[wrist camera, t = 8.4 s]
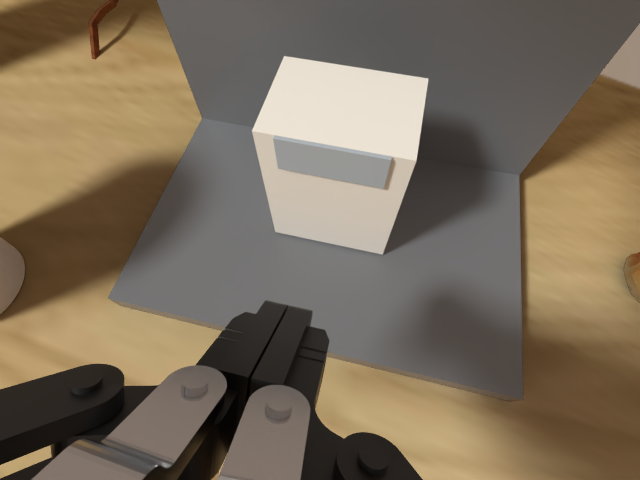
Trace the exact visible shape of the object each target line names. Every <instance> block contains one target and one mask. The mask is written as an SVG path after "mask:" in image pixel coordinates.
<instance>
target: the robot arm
mask: <svg viewBox="0 0 640 480" xmlns="http://www.w3.org/2000/svg"><path fill="white" fill-rule="evenodd" d="M312 313H313V311H312V310H309V309H304V308H300V307H295V306H291V305H290V306H289V305H286V304H281V303H277V302H272V301H268V300H265V301H264V303H263V304H262V306H261V307H260V309H259V310H258V312H257V313H256V314H253V313H249V312H244V313H242V314H240V315H238V316H236V317H234V318H233V319H232V320H231V321H230V322H229V324H228V325H227V326H226V327H225V330H223V331H222V332H221V334H220V335H219V337H218V338H217V339H216V340H215V341H214V343H213V344H212V345H211V346H210V348H209V349H208V350H207V351H206V353H205V354H204V355H203V356H202V358H201V359H200V360H199V361H198V363H197V364H196V365H195V366H188V367H184V368H181V369H179V370H177V371H175V372H173V373H172V374H170V375H169V376H168V377H167V378H166V379H165V380H164V381H163V382H162V383H161V384H160V385H157V386H124V375H123V373H122V372H121V370H119V369H118V368H116V367H114V366H111V365H107V364H90V365H84V366H80V367H77V368H73V369H70V370H66V371H63V372H59V373H56V374H53V375H49V376H46V377H42V378H39V379H35V380H32V381H28V382H25V383H21V384H18V385H15V386H11V387H8V388H4V389H1V390H0V465H1V464H4V463H6V462H9V461H11V460H14V459H16V458H19V457H21V456H24V455H26V454H29V453H31V452H34V451H37V450H39V449H42V448H44V447H47V446H49V445H51V454H52V457H51V458H49V459H47V460H44V461H42V462H39V463H37V464H35V465H32V466H30V467H27V468H25V469H22V470H20V471H18V472H15V473H13V474H10V475H8V476H6V477H3V478H1V479H0V480H422V478H421V477H420V476H419V475H418V473H417V472H416V471H415V470H414V468H413V467H412V466H411V465H410V463H409V462H408V461H407V460H406V458H405V457H404V456H403V454H402V453H401V452H400V451H399V450H398V449H397V447H396V446H395V445H393V444H392V443H391V442H390V441H388V440H387V439H385V438H383V437H381V436H379V435H376V434H372V433H365V432H361V433H355V434H352V435H349V436H347V437H346V438H345V439H343V438H342V437H340V436H338V435H336V434H335V433H333V432H332V431H330V430H329V429H328V428H326V427H325V426H324V425H323V424H322V422H321V421H320V420H319V418H318V416H317V414H316V411H315V408H316V404H317V399H318V395H319V391H320V387H321V383H322V378H323V372H324V367H325V362H326V357H327V352H328V346H329V338H328V336H327V333H326V331H325V330H324V329H319V328H315V327H311V320H312ZM227 453H228V454H227ZM226 455H227V456H226ZM225 457H226V459H225ZM224 459H225V462H224V464H223V467H222V469H221V472H220V475H219V477H218V474H219V469H220V468H221V465H222V463H223V461H224Z"/></svg>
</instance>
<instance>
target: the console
mask: <svg viewBox="0 0 640 480" xmlns="http://www.w3.org/2000/svg"><path fill="white" fill-rule="evenodd" d="M157 2H158V5H159V7H160V10H161V12H162V15H163V18H164V20H165V23H166V25H167V28H168V31H169V33H170V36H171V38H172V41H173V44H174V46H175V49H176V51H177V54H178V57H179V59H180V62H181V64H182V67H183V70H184V72H185V75H186V77H187V80H188V83H189V85H190V88H191V90H192V93H193V96H194V98H195V101H196V103H197V106H198V109H199V111H200V114H201V116H202V120H201V122H200V123H199V125H198V127H197V129H196V131H195V133H194V135H193V137H192V139H191V141H190V142H189V144H188V146H187V148H186V150H185V152H184V154H183V156H182V158H181V160H180V162H179V163H178V165H177V167H176V169H175V171H174V173H173V175H172V177H171V179H170V181H169V182H168V184H167V186H166V188H165V190H164V192H163V194H162V196H161V198H160V200H159V202H158V203H157V205H156V207H155V209H154V211H153V213H152V215H151V217H150V219H149V221H148V222H147V224H146V226H145V228H144V230H143V232H142V234H141V236H140V238H139V240H138V242H137V243H136V245H135V247H134V249H133V251H132V253H131V255H130V257H129V259H128V261H127V262H126V264H125V266H124V268H123V270H122V272H121V274H120V276H119V278H118V280H117V282H116V283H115V285H114V287H113V289H112V291H111V293H110V295H109V297H108V299H110V300H112V301H113V302H115V303H117V304H118V305H120V306H124V307H128V308H132V309H136V310H140V311H144V312H148V313H152V314H156V315H160V316H164V317H168V318H172V319H177V320H181V321H185V322H189V323H193V324H197V325H201V326H205V327H209V328H213V329H217V330H221V331H223V330H225V327H226V326H227V325H228V324H229V322H230V321H231V320H232V319H233V318H234V317H236V316H238V315H240V314H242V313H244V312H249V313H253V314H256V313H257V312H258V310H259V309H260V307H261V306H262V304H263V303H264V301H265V300H268V301H272V302H277V303H281V304H286V305H289V306H290V305H291V306H295V307H300V308H304V309H309V310H312V311H313V313H312V320H311V327H315V328H319V329H324V330H325V331H326V333H327V336H328V338H329V346H328V352H327V357H331V358H336V359H340V360H344V361H348V362H352V363H356V364H360V365H364V366H368V367H372V368H376V369H380V370H384V371H389V372H393V373H397V374H401V375H405V376H409V377H413V378H417V379H421V380H425V381H429V382H433V383H437V384H442V385H446V386H450V387H454V388H458V389H462V390H466V391H470V392H474V393H478V394H482V395H486V396H490V397H494V398H499V399H503V400H507V401H516V400H523V356H522V299H521V242H520V185H519V175H520V174H521V173H522V171H523V170H524V169H525V168H526V166H527V165H528V164H529V162H530V161H531V160H532V159H533V157H534V156H535V155H536V154H537V152H538V151H539V150H540V149H541V147H542V146H543V145H544V144H545V142H546V141H547V140H548V138H549V137H550V136H551V135H552V133H553V132H554V131H555V130H556V128H557V127H558V126H559V125H560V123H561V122H562V121H563V120H564V118H565V117H566V116H567V114H568V113H569V112H570V111H571V109H572V108H573V107H574V106H575V104H576V103H577V102H578V101H579V99H580V98H581V97H582V95H583V94H584V93H585V92H586V90H587V89H588V88H589V87H590V85H591V84H592V83H593V82H594V80H595V79H596V78H597V77H598V75H599V74H600V73H601V71H602V70H603V69H604V68H605V66H606V65H607V64H608V63H609V61H610V60H611V59H612V57H613V56H614V55H615V54H616V53H617V51H618V50H619V49H620V47H621V46H622V45H623V44H624V42H625V41H626V40H627V39H628V37H629V36H630V35H631V34H632V32H633V31H634V30H635V28H636V27H637V26H638V25H639V23H640V0H157ZM284 56H287V57H294V58H300V59H307V60H313V61H319V62H326V63H332V64H339V65H345V66H351V67H358V68H364V69H371V70H377V71H383V72H390V73H396V74H403V75H409V76H415V77H422V78H428V86H427V92H426V99H425V106H424V113H423V120H422V127H421V133H420V140H419V147H418V154H417V161H416V164H415V166H414V169H413V172H412V175H411V177H410V180H409V183H408V186H407V188H406V191H405V194H404V197H403V200H402V202H401V205H400V208H399V211H398V213H397V216H396V219H395V222H394V225H393V227H392V230H391V233H390V236H389V238H388V241H387V244H386V247H385V249H384V252H383V255H382V254H378V253H373V252H368V251H363V250H359V249H354V248H349V247H344V246H340V245H335V244H330V243H325V242H321V241H316V240H311V239H306V238H302V237H297V236H292V235H287V234H283V233H278V232H275V228H274V224H273V220H272V215H271V211H270V207H269V203H268V198H267V194H266V190H265V185H264V181H263V177H262V172H261V168H260V164H259V160H258V155H257V151H256V147H255V142H254V138H253V134H252V130H253V127H254V125H255V123H256V120H257V118H258V116H259V113H260V111H261V109H262V106H263V104H264V102H265V99H266V97H267V95H268V92H269V90H270V88H271V85H272V83H273V81H274V78H275V76H276V74H277V71H278V69H279V67H280V64H281V62H282V60H283V58H284Z"/></svg>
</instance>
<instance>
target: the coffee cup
mask: <svg viewBox="0 0 640 480" xmlns="http://www.w3.org/2000/svg"><path fill="white" fill-rule="evenodd" d="M24 276H25V264H24V260H23V257H22V255H21V254H20V252H19V251H18V250H17V249H16V248H14V247H13V246H12V245H10V244H9V243H8V242H6V241H5V240H4V239H2V238H1V237H0V314H1V313H2V312H4V311H5V310H6V309H7V307H8V306H9V305H10V304H11V303H12V302H13V300H14V299H15V297H16V296H17V294H18V292H19V291H20V288H21V286H22V284H23V280H24Z"/></svg>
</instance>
